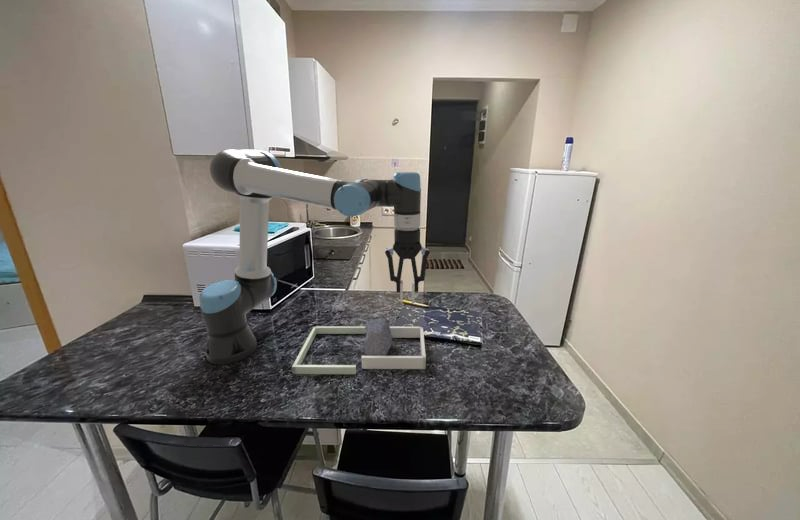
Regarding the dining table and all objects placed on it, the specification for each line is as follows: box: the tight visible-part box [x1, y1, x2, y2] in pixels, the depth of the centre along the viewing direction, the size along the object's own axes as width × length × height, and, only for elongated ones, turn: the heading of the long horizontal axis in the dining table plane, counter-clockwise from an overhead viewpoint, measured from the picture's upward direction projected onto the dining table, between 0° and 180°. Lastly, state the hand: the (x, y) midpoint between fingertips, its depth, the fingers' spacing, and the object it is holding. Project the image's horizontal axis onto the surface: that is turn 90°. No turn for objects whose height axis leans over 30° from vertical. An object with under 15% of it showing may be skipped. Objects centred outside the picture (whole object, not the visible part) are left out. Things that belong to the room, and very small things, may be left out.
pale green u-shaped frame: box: [291, 325, 367, 375], centre depth 102 cm, size 19×23×2 cm
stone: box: [364, 316, 393, 356], centre depth 100 cm, size 12×10×10 cm
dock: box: [360, 325, 427, 370], centre depth 101 cm, size 20×18×4 cm
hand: (407, 300), depth 96 cm, fingers open, 3 cm apart
